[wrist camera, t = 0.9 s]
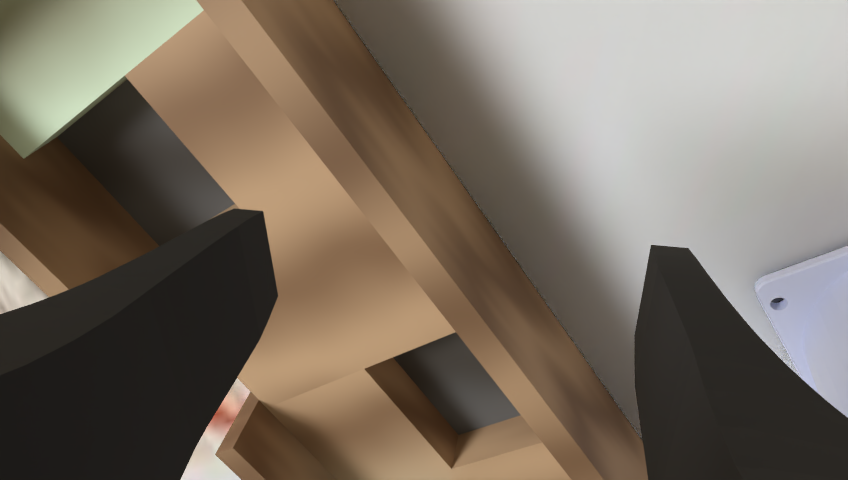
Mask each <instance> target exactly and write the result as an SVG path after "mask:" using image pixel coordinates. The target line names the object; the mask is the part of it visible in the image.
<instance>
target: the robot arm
mask: <svg viewBox="0 0 848 480" xmlns="http://www.w3.org/2000/svg"><path fill="white" fill-rule="evenodd" d="M754 289H755V293H756V296H757V298H758V300H759V302H760V304H761V306H762V307H763V309H764V311H765V313H766V315H767V317H768V318H769V320H770V322H771V324H772V326H773V328H774V329H775V331H776V333H777V335H778V337H779V339H780V340H781V342H782V344H783V346H784V348H785V349H786V351H787V353H788V355H789V357H790V359H791V360H792V362H793V364H794V366H795V368H796V370H797V371H798V373H799V375H800V377H801V378H800V377H799V376H798V375H797V374H796V373H794V372H793V371H792V370H791V369H790V368H789V367H788V366H787V365H786V364H785V363H784V362H783V361H782V360H781V359H780V358H779V357H778V356H777V355H776V354H775V353H774V352H773V351H772V350H771V349H770V348H769V347H768V346H767V345H766V344H765V343H764V342H763V341H762V339H761V338H760V337H759V336H758V335H757V334H756V333H755V332H754V331H753V330H752V329H751V327H750V326H749V325H748V324H747V323H746V321H745V320H744V319H743V318H742V317H741V315H740V314H739V313H738V312H737V311H736V310H735V308H734V307H733V306H732V305H731V303H730V302H729V301H728V300H727V298H726V297H725V296H724V295H723V293H722V292H721V291H720V289H719V288H718V287H717V286H716V284H715V283H714V282H713V280H712V279H711V278H710V276H709V275H708V274H707V272H706V271H705V270H704V268H703V267H702V265H701V264H700V263H699V261H698V260H697V259H696V257H695V256H694V255H693V254H692V252H691V251H690V250H689V249H688V248H679V247H668V246H657V245H651V249H650V254H649V260H648V265H647V271H646V276H645V282H644V287H643V293H642V298H641V304H640V309H639V315H638V320H637V326H636V331H635V388H636V396H637V403H638V411H639V418H640V425H641V432H642V439H643V446H644V453H645V460H646V467H647V474H648V480H848V246H845V247H843V248H840V249H837V250H834V251H832V252H829V253H826V254H823V255H820V256H818V257H815V258H812V259H809V260H806V261H804V262H801V263H798V264H795V265H792V266H790V267H787V268H784V269H781V270H779V271H776V272H773V273H770V274H767V275H765V276H763V277H761V278H759V279H758V280H757V282H756V283H755V286H754ZM780 297H781V298H784V300H783V301H781V302H778V303H773V302H771V301H772V300H773V299H775V298H780ZM277 298H278V292H277V286H276V280H275V275H274V269H273V263H272V258H271V252H270V246H269V241H268V235H267V229H266V224H265V218H264V212H263V211H258V210H246V209H235V208H234V209H232V210H229V211H227V212H224V213H222V214H220V215H218V216H216V217H214V218H212V219H210V220H208V221H206V222H204V223H202V224H200V225H198V226H196V227H195V228H193V229H191V230H189V231H187V232H185V233H183V234H182V235H180V236H178V237H176V238H174V239H172V240H170V241H168V242H167V243H165V244H163V245H161V246H159V247H157V248H155V249H153V250H152V251H150V252H148V253H146V254H144V255H142V256H140V257H138V258H136V259H134V260H132V261H130V262H128V263H126V264H124V265H122V266H119V267H117V268H115V269H113V270H111V271H109V272H107V273H105V274H103V275H101V276H99V277H97V278H95V279H93V280H90V281H88V282H86V283H84V284H81V285H79V286H77V287H74V288H72V289H69V290H67V291H64V292H62V293H59V294H57V295H54V296H52V297H49V298H47V299H44V300H41V301H39V302H36V303H33V304H31V305H28V306H24V307H21V308H18V309H15V310H12V311H9V312H6V313H3V314H0V480H180V479H181V477H182V475H183V473H184V471H185V469H186V466H187V464H188V462H189V460H190V458H191V456H192V454H193V451H194V449H195V447H196V446H197V444H198V442H199V440H200V438H201V436H202V435H203V433H204V431H205V429H206V427H207V426H208V424H209V423H210V421H211V419H212V418H213V416H214V414H215V413H216V411H217V410H218V408H219V406H220V405H221V403H222V401H223V400H224V398H225V396H226V395H227V393H228V392H229V390H230V388H231V387H232V385H233V383H234V382H235V380H236V379H237V377H238V375H239V374H240V372H241V370H242V369H243V367H244V365H245V364H246V362H247V360H248V359H249V357H250V355H251V354H252V352H253V350H254V349H255V347H256V345H257V344H258V342H259V340H260V338H261V336H262V334H263V332H264V329H265V327H266V325H267V323H268V320H269V318H270V315H271V313H272V310H273V308H274V305H275V303H276V300H277Z"/></svg>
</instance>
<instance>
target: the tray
mask: <svg viewBox="0 0 848 480" xmlns="http://www.w3.org/2000/svg"><path fill="white" fill-rule="evenodd" d="M234 208H235V209H246V210H258V211H263V212H264V218H265V224H266V229H267V235H268V241H269V246H270V252H271V258H272V263H273V269H274V275H275V280H276V286H277V292H278V298H277V300H276V303H275V305H274V308H273V310H272V313H271V315H270V318H269V320H268V323H267V325H266V327H265V329H264V332H263V334H262V336H261V338H260V340H259V342H258V344H257V345H256V347H255V349H254V350H253V352H252V354H251V355H250V357H249V359H248V360H247V362H246V364H245V365H244V367H243V369H242V370H241V372H240V374H239V375H238V377H237V378H238V379H239V380H240V381H241V382H242V383H243V384H244V385H245V386H246V387H247V388H248V389H249V390H250V391H251V392H250V394H249V396H248V397H247V399H246V401H245V403H244V404H243V406H242V408H241V410H240V412H239V413H238V415H237V417H236V419H235V420H234V422H233V424H232V426H231V427H230V429H229V431H228V433H227V435H226V436H225V438H224V440H223V442H222V443H221V445H220V447H219V449H218V451H217V452H216V454H215V455H216V456H217V457H218V458H219V459H220V460H221V461H223V462H224V463H225V464H226V465H227V466H228V467H229V468H230V469H231V470H232V471H233V472H234V473H235V474H236V475H237V476H238V477H239V478H240V479H241V480H648V474H647V467H646V460H645V453H644V446H643V441H642V440H641V438H640V437H639V436H638V434H637V433H636V431H635V430H634V428H633V427H632V426H631V424H630V423H629V421H628V420H627V418H626V417H625V416H624V414H623V413H622V411H621V410H620V408H619V407H618V406H617V404H616V403H615V401H614V400H613V399H612V397H611V396H610V394H609V393H608V391H607V390H606V389H605V387H604V386H603V384H602V383H601V381H600V380H599V379H598V377H597V376H596V374H595V373H594V371H593V370H592V369H591V367H590V366H589V364H588V363H587V361H586V360H585V359H584V357H583V356H582V354H581V353H580V351H579V350H578V349H577V347H576V346H575V344H574V343H573V342H572V340H571V339H570V337H569V336H568V334H567V333H566V332H565V330H564V329H563V327H562V326H561V324H560V323H559V322H558V320H557V319H556V317H555V316H554V314H553V313H552V312H551V310H550V309H549V307H548V306H547V304H546V303H545V302H544V300H543V299H542V297H541V296H540V294H539V293H538V292H537V290H536V289H535V287H534V286H533V285H532V283H531V282H530V280H529V279H528V277H527V276H526V275H525V273H524V272H523V270H522V269H521V267H520V266H519V265H518V263H517V262H516V260H515V259H514V257H513V256H512V255H511V253H510V252H509V250H508V249H507V247H506V246H505V245H504V243H503V242H502V240H501V239H500V238H499V236H498V235H497V233H496V232H495V230H494V229H493V228H492V226H491V225H490V223H489V222H488V220H487V219H486V218H485V216H484V215H483V213H482V212H481V210H480V209H479V208H478V206H477V205H476V203H475V202H474V200H473V199H472V198H471V196H470V195H469V193H468V192H467V190H466V189H465V188H464V186H463V185H462V183H461V182H460V181H459V179H458V178H457V176H456V175H455V173H454V172H453V171H452V169H451V168H450V166H449V165H448V163H447V162H446V161H445V159H444V158H443V156H442V155H441V153H440V152H439V151H438V149H437V148H436V146H435V145H434V143H433V142H432V141H431V139H430V138H429V136H428V135H427V134H426V132H425V131H424V129H423V128H422V126H421V125H420V124H419V122H418V121H417V119H416V118H415V116H414V115H413V114H412V112H411V111H410V109H409V108H408V106H407V105H406V104H405V102H404V101H403V99H402V98H401V96H400V95H399V94H398V92H397V91H396V89H395V88H394V86H393V85H392V84H391V82H390V81H389V79H388V78H387V77H386V75H385V74H384V72H383V71H382V69H381V68H380V67H379V65H378V64H377V62H376V61H375V59H374V58H373V57H372V55H371V54H370V52H369V51H368V49H367V48H366V47H365V45H364V44H363V42H362V41H361V39H360V38H359V37H358V35H357V34H356V32H355V31H354V29H353V28H352V27H351V25H350V24H349V22H348V21H347V20H346V18H345V17H344V15H343V14H342V12H341V11H340V10H339V8H338V7H337V5H336V4H335V2H334V1H333V0H0V251H1V252H2V253H3V254H4V255H5V256H7V257H8V258H9V259H10V260H11V261H12V262H13V263H14V264H15V265H16V266H17V267H18V268H19V269H20V270H21V271H22V272H23V273H24V274H25V275H27V276H28V277H29V278H30V279H31V280H32V281H33V282H34V283H35V284H36V285H37V286H38V287H39V288H40V289H41V290H42V291H43V292H44V293H46V294H47V295H48V296H49V297H52V296H54V295H57V294H59V293H62V292H64V291H67V290H69V289H72V288H74V287H77V286H79V285H81V284H84V283H86V282H88V281H90V280H93V279H95V278H97V277H99V276H101V275H103V274H105V273H107V272H109V271H111V270H113V269H115V268H117V267H119V266H122V265H124V264H126V263H128V262H130V261H132V260H134V259H136V258H138V257H140V256H142V255H144V254H146V253H148V252H150V251H152V250H153V249H155V248H157V247H159V246H161V245H163V244H165V243H167V242H168V241H170V240H172V239H174V238H176V237H178V236H180V235H182V234H183V233H185V232H187V231H189V230H191V229H193V228H195V227H196V226H198V225H200V224H202V223H204V222H206V221H208V220H210V219H212V218H214V217H216V216H218V215H220V214H222V213H224V212H227V211H229V210H232V209H234Z"/></svg>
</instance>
